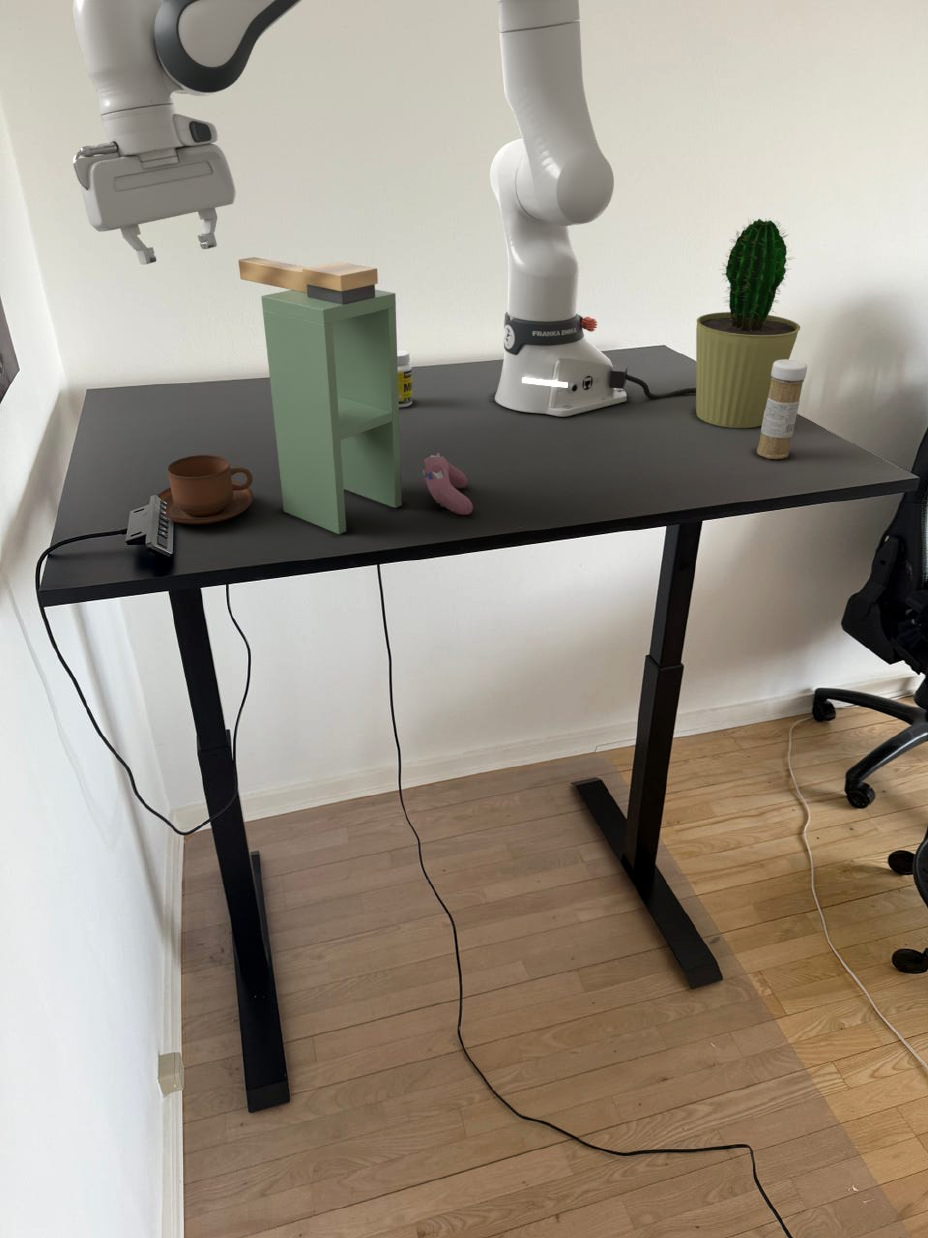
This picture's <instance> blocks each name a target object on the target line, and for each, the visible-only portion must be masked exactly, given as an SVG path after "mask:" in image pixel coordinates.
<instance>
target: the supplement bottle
mask: <svg viewBox="0 0 928 1238" xmlns="http://www.w3.org/2000/svg"><path fill="white" fill-rule="evenodd" d="M410 360H411V357H410V352H409V351H407V350H403V349H397V364H398V398H399V408H407V407H410V406H411V405H412V404H413V372H412V371H413V367H412V365H411V363H410Z"/></svg>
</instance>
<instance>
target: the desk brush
mask: <svg viewBox="0 0 928 1238" xmlns="http://www.w3.org/2000/svg"><path fill="white" fill-rule="evenodd" d="M238 269H239V277H240V280H241V281H248V282H252V283H257V284H262V285H266V286H271V287H277V288H280V289H285V290H295V291H299V292H304V293H307V296H308V297H310V298H315V299H320V300H324V301H329V302H334V303H339V304H347V303H351V302H356V301H360V300H364V299H369V298H373V297H375V289H376V285H377V284H378V283H379V279H378V276H379V275H378V268H377V267H371V266H367V265H360V264H354V263H349V262H344V261H336V262H330V263H324V264H319V265H314V266H303V265H297V264H293V263H287V262H282V261H277V260H271V259H267V258H260V257H256V256H253V257H247V258H241V259H238Z"/></svg>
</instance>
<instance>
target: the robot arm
mask: <svg viewBox="0 0 928 1238" xmlns="http://www.w3.org/2000/svg"><path fill="white" fill-rule="evenodd" d="M302 1H303V0H73V2H72V18H73V24H74V28H75V33H76V38H77V41H78V45H79V49H80V53H81V56H82V60H83V63H84V67H85V70H86V73H87V75H88V77H89V79H90V80H91V83H92V84H93V86H94V89H95V91H96V94H97V98H98V107H99V116H100V119H101V121H102V125H103V127H104V131H105V134H106V138H107V141H108V142H104V143H99V144H97V145H85V146H82V147H80V148H79V150H78V152H77V153H76V154H75V155H74V157H73V160H72V165H73V170H74V172H75V176H76V178H77V182H79V184H80V188H81V194H82V199H83V205H84V208H85V212H86V215H87V219H88V222H89V225H91V226H92V227H93V228H94V229H95V230H96V231H97V232H110V231H115V230H119V229H120V232H121V235H122V238H123V239H124V240H125V242H127V243H128V245H129V246H131V248H132V249H133V250H134V251H135V252H136V255H137V258H138V262H139V264H140V265H142V266H143V265H149V264H153V263H156V262H157V256H156V255H155V250H154V247H153V246H151V247H147V245H146V244H145V243H144V242H143V241H142V240H141V238H140V237H139V235H141V234H142V233H141V230H140V226H139V225H143V224H147V223H151V222H156V221H160V220H166V219H169V218H175V217H179V216H184V215H189V214H194V213H197V215H198V217H199V220H200V221H201V220H203V222H202V223H203V225H202V232H201V234H198V235H197V239H198V241H199V242H200V243H199V246H200V248H201V249H202V250H209V249H214V248H217V246H218V243H217V239H216V236H215V232H216V227H217V223H218V214H217V208H220V207H221V208H222V207H226V206H230V205H233V204H234V203H235V200H236V197H237V191H236V186H235V182H234V178H233V175H232V172H231V167H230V165H229V162H228V160H227V156H226V154H225V152H224V151H223V150H222V149H221V147H220V146H219V145H217V144H215V143H216V142H217V141H218V139H219V135H218V130H217V127H216V126H215V124H213V123H212V122H208V121H205V120H201V119H196V118H193V117H189V116H186V115H183V114H179V113H177V110H176V108H175V103H174V100H173V96H174V94H181V95H183V94H184V95H190V96H195V97H209V96H213V95H216V94H217V93H219V92H222V91H224V90H227V89H228V88H229V87H231V86H232V85H233V84H235V83H236V82H237V81H238V80H239V78H240V77H241V75H242V74H243V72H244V70H245V68H246V67H247V64H248V61H249V60H250V57H251V54H252V52H253V51H254V47H255V45H256V44H257V42H258V40H259V39H260V38H261V37H262V36H263V35H264V33H265V32H267V31H268V30H269V29H270V28H271V27H272V26H273V25H274V24H275V23H277V22H278V21H280V19H282V18H283V17H284V16H285V15H287V14H288V13H289V12H290V11H291V10H293V9H294V8H295V7H296V6H298V5H299V4H300V3H302ZM496 3H497V12H498V13H497V14H498V15H497V16H498V31H499V42H500V43H499V44H500V45H499V46H500V57H501V69H502V80H503V93H504V97H505V99H506V102H507V104H508V106H509V107H510V108H511V110H512V112H513V115H514V118H515V121H516V123H517V126H518V129H519V133H520V137H521V138H518V139H515V140H513V141H511V142H508V143H505V144H504V145H503V146H502V147H501V148H499V150H498V151H497V153H496V154H495V156H494V158H493V160H492V162H491V165H490V171H489V183H490V187H491V190H492V193H493V194H494V196H495V198H496V200H497V203H498V206H499V210H500V216H501V223H502V227H503V233H504V239H505V244H506V245H505V246H506V253H507V267H508V268H507V269H508V270H507V271H508V274H507V275H508V276H507V277H508V279H507V311H506V312H505V313H504V321H503V349H504V353H503V362H502V367H501V372H500V377H499V378H500V379H499V382H498V385H497V390H496V393H495V395H494V401H495V402H496V403H497V404H498V405H500V406H502V407H504V408H507V409H510V410H513V411H516V412H517V411H518V412H523V413H531V414H543V415H544V414H545V415H549V416H553V417H554V416H555V417H562V418H563V417H570V416H573V415H578V414H581V413H586V412H589V411H593V410H598V409H601V408H605V407H608V406H609V407H610V406H613V405H617V404H621V403H624V402H627V400H628V399H627V396H628V395H627V392H626V391H625V390H624V388H625V385H626V383H627V381H629V382H631V383H634V384H637V385H639V386H640V387H641V388H642V390H643V393H644V396H645V397H647V398H648V399H651V400H659V399H665V398H666V399H667V398H671V397H678V396H681V395H686V394H696V387H688V388H687V387H686V388H681V389H678V390H673V391H670V392H667V393H663V394H656V393H652V392H651V391H650V388H649V385H648V384H647V383H646V381H644V380H642V379H640V378H638V377H635V376H633V375H630V374H628V367H629V365H628V364H618V363H614V364H613V363H612V361H611V359H610V358H609V357H608V356H607V355H606V354H604V353H603V352H602V351H601V350H600V349H598V348H597V347H596V346H595V345H594V344H593V343H591V341H589V340H588V339H587V338H585V333H584V330H586V331H588V332H590V333H592V332H594V331H596V329H597V328H598V321H597V320H596V319H595V318H592V317H590V316H585V317H583V316H582V315H580V314H578V313H577V309H578V307H577V306H578V294H579V277H580V263H579V258H578V256H577V254H576V252H575V250H574V248H573V244H572V241H571V237H570V231H569V227H573V226H581V225H585V224H589V223H591V222H593V221H595V220H597V219H598V218H599V217H601V216H602V214H604V212H605V211H606V209H607V208H608V207H609V204H610V202H611V200H612V198H613V194H614V186H615V179H614V177H615V176H614V171H613V169H612V166H611V164H610V162H609V160H608V159H607V158H606V157H605V155H604V153H603V152H602V150H601V148H600V146H599V143H598V140H597V137H596V133H595V129H594V126H593V123H592V120H591V116H590V115H591V114H590V112H589V108H588V102H587V99H586V93H585V88H584V77H583V61H582V40H581V21H580V19H581V18H580V3H579V0H496Z"/></svg>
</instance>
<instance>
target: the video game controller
mask: <svg viewBox="0 0 928 1238" xmlns="http://www.w3.org/2000/svg"><path fill="white" fill-rule="evenodd" d="M423 464H424V469H422V475H423V477H425V478H424V480H425V484H426V486H427V488H428V491H429V493H430V495H431V497H432V498H433V499H434V501H435V502H436V504H439V506H440V507H441V508H445V509H447V510H449V511H451V512H453V513H454V514H457V515H459V516H460V515H461V516H468V515H470V514H471V513H472V512H473V509H474V507H473V506H474V505H473V502H472V501H471V500H470V498H468V497H467V496H466V495H464V494H463V493H462V492H461V491H460V490H458V489H461V490H462V489H464V488H465V487H467V484H468V479H467V477H466V475H465V473H464V472H463V471H461V470H460V469H459V468H457V467H455V466H454V465H452V464H451V463H450V462H449V461H448V460H447V459H446V458H445V457H444V456H442V455H440V452H438V453H437V454H436V455H433V454H431V455H430V456H428V457H426V458H425V459H423Z"/></svg>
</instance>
